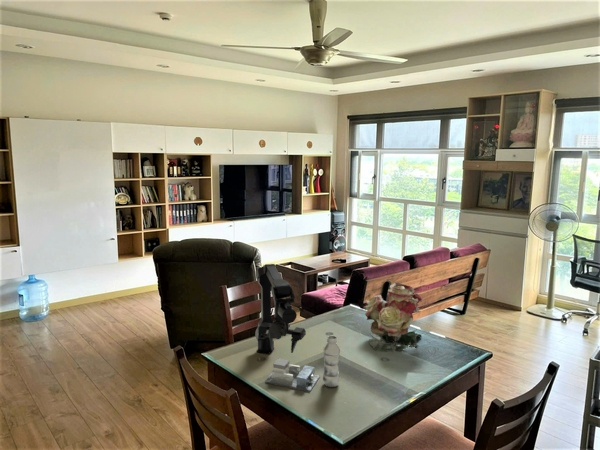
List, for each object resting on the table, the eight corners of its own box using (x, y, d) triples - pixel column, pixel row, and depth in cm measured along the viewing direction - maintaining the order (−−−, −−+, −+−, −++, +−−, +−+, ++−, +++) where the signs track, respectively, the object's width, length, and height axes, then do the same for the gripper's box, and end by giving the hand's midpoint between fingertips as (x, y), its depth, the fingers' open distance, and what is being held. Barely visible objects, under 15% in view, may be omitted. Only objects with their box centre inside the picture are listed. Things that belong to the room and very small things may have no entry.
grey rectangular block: (273, 377, 178) (273, 363, 177) (278, 371, 182) (278, 358, 181) (284, 379, 176) (284, 366, 175) (289, 374, 180) (289, 360, 179)
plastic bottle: (334, 391, 169) (335, 342, 166) (319, 386, 173) (320, 338, 170) (342, 383, 175) (343, 336, 172) (327, 379, 178) (328, 332, 175)
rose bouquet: (363, 329, 228) (365, 274, 223) (421, 334, 223) (424, 277, 218) (360, 351, 203) (362, 289, 198) (425, 357, 198) (429, 294, 193)
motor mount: (265, 382, 175) (265, 372, 174) (277, 368, 186) (277, 358, 185) (310, 392, 169) (310, 381, 168) (319, 377, 180) (319, 366, 179)
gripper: (251, 317, 170) (251, 355, 173) (296, 324, 164) (296, 363, 166) (263, 308, 181) (263, 344, 183) (306, 314, 174) (305, 351, 177)
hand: (281, 350), depth 177 cm, fingers open, 9 cm apart
